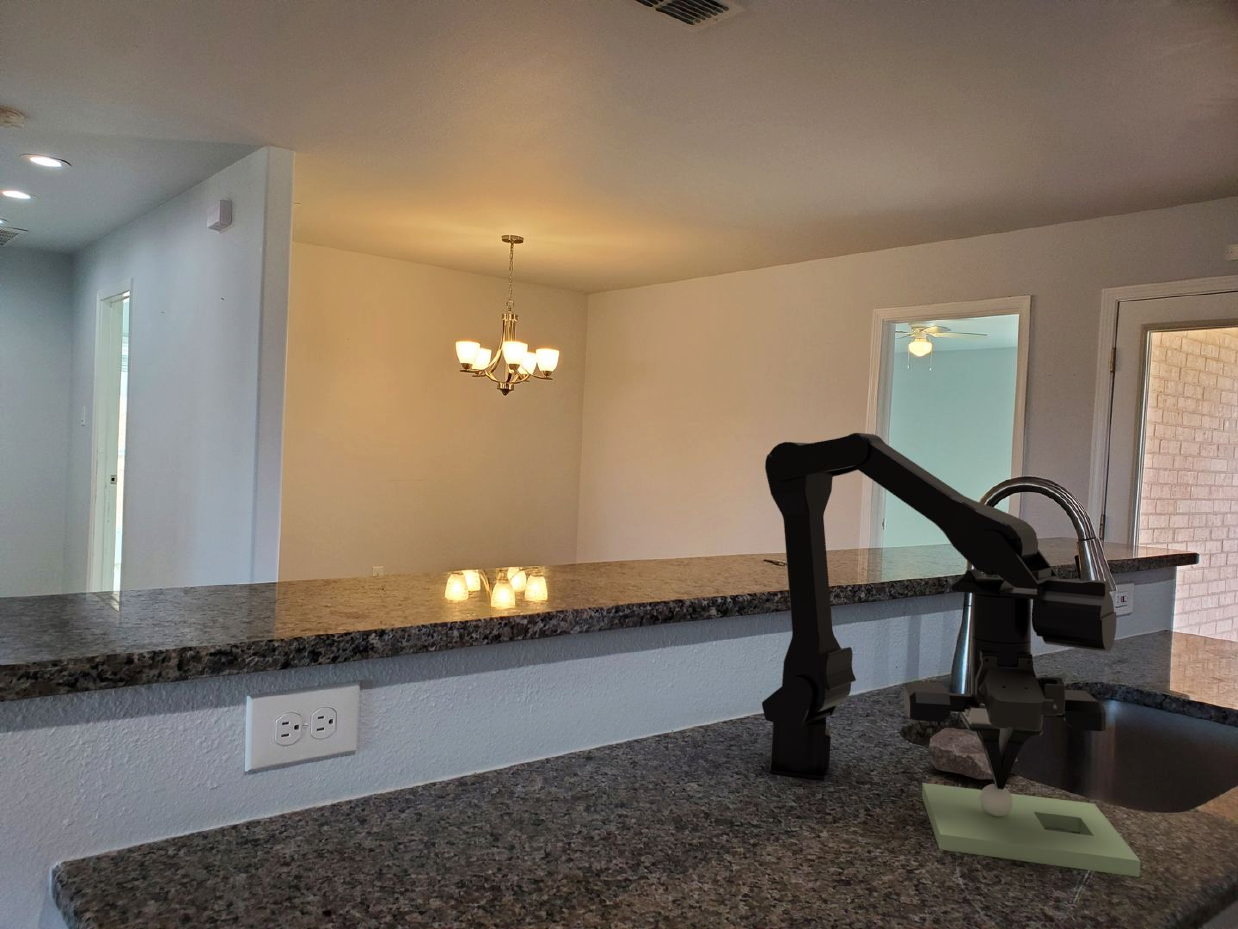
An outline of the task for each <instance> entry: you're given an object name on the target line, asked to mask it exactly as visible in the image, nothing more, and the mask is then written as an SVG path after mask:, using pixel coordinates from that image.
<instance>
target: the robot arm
mask: <svg viewBox="0 0 1238 929" xmlns="http://www.w3.org/2000/svg"><path fill="white" fill-rule="evenodd" d="M764 461H765V464H764V469H765V475H766V479H767V483H768V484H767V485H768V488H769V492H770V495H771V498H772V500H773V501H774V503H775V504H776V506H777V508H778V510H779V512H780V513H781V516H782V520H783V530H784V531H783V532H784V543H785V554H786V556H785V558H786V568H787V581H788V582H787V583H788V594H789V606H790V607H789V608H790V609H789V610H790V621H791V639H790V642H789V645H788V648H787V651H786V653H785V657H784V660H783V663H782V664H783V667H782V679H781V680H782V681H781V686H780V687H779V688H778V689H777V690H776V691H774V692H773V693H772V694H770V695H769V696H768V697H767V698H765V699H764V700H763V701H762V702H761V706H762V710H763V715H764V719H765V721H767V722H771V723H772V733H771V738H772V739H771V749H770V750H771V752H770V760H769V766H768V767H769V768H768V773H770V774H775V775H780V776H781V775H782V776H790V777H798V778H799V777H800V778H806V779H813V780H822V781H823V780H826V771H829V769H830V762H831V760H830V757H831V741H832V735H831V730H830V729H827V717H831V716H834V714H835V712H836V710H837V707H838V705H840V704H841V703H843V702H844V701H845V700H846V698H848V696H849V695H850V694H851V690H852V683H854V682H856V681H857V678H856V676H855V673H854V670H853V656H854V654H853V649H852V647H851V646H848V647H842V648H841V646H840V643H839V641H838V639H837V638H836V636H835V633H834V630H833V622H832V621H833V620H832V609H831V608H832V606H831V594H830V582H829V572H828V571H829V570H828V557H827V545H826V534H825V533H826V532H825V520H824V519H825V518H824V516H825V511H826V508H827V505H828V504H829V503H828V502H829V500H830V497H831V494H832V490H833V489H832V488H833V479H834V477H838V476H842V475H846V474H849V473H852V472H856V471H859V472H861V473H862V474H863V475H865V476H867V477H868V478H869V479H871V480H872V481H873V482H875V483H876V484H878V485H879V486H880V487H882V488H883V489H885V490H886V491H887V492H889V493H890V494H892V495H893V496H895V497H896V498H898V499H899V500H900V501H901V502H903V503H905V504H906V505H908V506H909V507H911V508H912V509H913V510H915V511H916V512H918V513H919V514H920V515H922V516H923V517H925V519H928V520H929V521H930V522H932V523H933V524H934V525H936V526H937V527H938V528H939V530H941V531H942V532H943V534H944V536H945V537H946V538H947V539H948V541H949V542H950V544H951V546H952V547H953V548H954V549H955V550H956V551H957V552H958V553H959V554H960V555H961V556H962V557H963V558H964V559H965V560H966V561H967V562H968V563H969V564H970V565H971V566H972V567H973V568H972V569H967V570H966V571H965V573H964V574H963V576H962V577H960V579H958V580H957V581H955V583H953V584H952V585H950V590H951V591H952V592H956V593H963V594H964V593H965V594H971V642H970V644H971V645H970V651H971V656H970V659H971V661H970V663H971V664H970V666H971V667H970V668H971V670H970V675H971V676H970V678H971V679H970V693H954V692H949V691H948V689H946V687H945V685H944V684H943V683H941V682H940V683H939V682H938V683H937V682H923V681H922V682H920V681H919V682H918V681H910V682H908V683H907V684H906V685H905V686H904V688H903V689H904V691H903V703H904V704H903V707H904V709H905V711H906V713H907V715H908V717H909V719H910V720H913V721H919V722H920V721H921V722H931V723H932V722H934V723H943V722H944V721H946V720H947V719H948V718H949V717H950V716H951V713H952V712H953V713H956V712H957V713H959V714H960V717H959V718H960V719H961V720H962V722H963V723H964V725H965V727H966V728H967V730H970V731H974V732H976V733H977V735H978V737H979V739H980V741H981V744H982V746H983V749H984V752H985V755H986V758H987V761H988V764H989V767H990V770H991V773H992V776H993V779H992V780H993V782H994V784H996V786H997V788H998V789H1004V787H1005V788H1006V785H1007V782H1008V780H1009V778H1010V775H1011V772H1012V770H1013V767H1014V765H1015V763H1016V762H1015V760H1016V758H1017V757H1018V755H1019V753H1020V751H1021V750H1022V748H1023V746H1024V745H1025V743H1026V742H1027V741H1028V740H1029V739H1030V738H1031V737H1033V736H1042V734H1043V731H1044V730H1043V729H1042V727H1043V723H1044V717H1045V718H1061V719H1063V721H1064V722H1065V723H1066V724H1067V725H1068V726H1069V727H1070V728H1071V729H1072V730H1073V731H1089V732H1090V731H1091V732H1105V731H1106V727H1107V725H1106V724H1107V723H1106V718H1107V713H1106V710H1105V705H1103V704H1102V703H1100V701H1099V700H1097V699H1096V698H1095V697H1093V696H1092V695H1091V694H1090V693H1088V692H1087V691H1086V690H1080V689H1079V690H1074V689H1066V685H1065V683H1064V681H1063V678H1062V677H1054V676H1041V677H1037V675H1036V673H1035V670H1034V660H1033V658H1034V657H1033V654H1032V629H1033V631H1034V633H1035V634H1036V637H1040V638H1042V639H1043V642H1044V643H1045V645H1051V646H1056V647H1057V646H1058V647H1064V648H1065V647H1067V648H1074V649H1083V650H1090V651H1097V652H1106V653H1109V652H1111V650H1112V648H1113V646H1114V644H1115V638H1116V633H1117V612H1116V611H1115V609H1114V608H1115V606H1114V600H1113V597H1112V594H1111V589H1110V588H1111V586H1110V585H1111V583H1110V582H1109V581H1108V580H1102V579H1101V580H1099V579H1094V580H1093V579H1092V580H1076V579H1075V580H1074V579H1066V578H1065V579H1064V578H1063V579H1062V578H1060V576H1059V575H1058V573H1057V572H1056V570H1055V569H1054V568H1053V567H1052V566H1051V564H1050V563H1049V561H1048V560H1047V559H1046V558H1045V555H1044V554H1043V553H1042V552H1041V550H1040V549H1039V542H1038V536H1037V532H1036V531H1035V529H1034V528H1033V527H1032V526H1031V525H1030V523H1028V522H1027V521H1025V520H1023V519H1022V518H1019V517H1017V516H1014V515H1011V514H1010V513H1008V512H1006V511H1003V510H1002V509H999V508H996V507H993V506H990V505H988V504H985V503H981V502H979V501H977V500H974V499H971V498H970V497H967V496H965V495H964V494H962V493H960V491H958V490H956V489H954V488H953V487H951V486H950V485H948V484H947V483H945V482H944V481H942V480H941V479H939V478H938V477H936V476H935V475H934V474H932V473H931V472H929V471H927V470H926V469H925V468H923V467H921V466H920V465H918V464H917V463H916V462H914V461H912V460H911V459H909V458H908V457H907V456H905V455H904V454H902V453H901V452H899V451H898V450H896V449H895V448H893V447H891V445H888V444H887V443H886V442H885V441H884V440H883V438H881V437H880V436H879V435H876V434H874V433H865V432H854V433H850V434H848V435H846V436H845V435H844V436H841V437H838V438H832V439H828V440H821V441H817V442H811V443H809V442H796V441H795V442H793V441H784V442H781V443H778V444H776V445H775V446H774V447H772V449H771V450H770V452H769V453H768V454H767V455H766V458H765V460H764ZM980 572H981V573H983V574H985V575H990V576H996V575H997V576H998V577H1000V578H997V577H985V576H984V575H982V574H981V573H980ZM1017 759H1018V758H1017Z"/></svg>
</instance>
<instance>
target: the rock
mask: <svg viewBox="0 0 1238 929" xmlns="http://www.w3.org/2000/svg"><path fill="white" fill-rule="evenodd" d="M928 754H929V756H930V759H931V762H932V766H934V768H935V769H936V770H937V771H942V772H947V773H955V774H961V775H963V776H965V777H970V778H974V779H976V780H994V779H993V776H992V773H991V770H990V767H989V764H988V761H987V758H986V755H985V752H984V749H983V746H982V744H981V741H980V739H979V737H978V735H977V733H976V732H974V731H970V730H969V729H959V728H955V727H951V728H950V727H946V728H942V729H941V731H938V732H937V733H936V734H934V735H932V736H931V737H930V740H929V746H928ZM1018 761H1019V760H1018V758H1016V760H1015V762H1014V763H1016V762H1018Z"/></svg>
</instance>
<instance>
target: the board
mask: <svg viewBox="0 0 1238 929" xmlns="http://www.w3.org/2000/svg"><path fill="white" fill-rule="evenodd" d="M921 785H922V786H921V787H922V788H921V798H922V800H923V805H924V807H925V809H926V812H927V816H928V819H929V822H930V825H931V828H932V831H933V833H934V837H935V840H936V843H937V846H938V849H939V850H943V851H950V852H958V853H965V854H970V855H980V856H985V857H994V858H1000V859H1005V860H1015V861H1022V862H1030V863H1036V864H1043V865H1048V866H1049V865H1050V866H1057V867H1064V868H1072V869H1079V870H1086V871H1091V872H1092V871H1094V872H1100V873H1108V874H1114V875H1115V874H1116V875H1122V876H1129V877H1137V878H1140V873H1141V859H1140V858H1139V857H1138V856H1137V854H1136V853H1135V852H1134V850H1132V848H1131V847H1130V846H1129V845H1128V843H1127V842H1126V841H1125V839H1123V837H1122V836H1121V835H1120V834H1119V832H1118V831H1117V830H1116V828H1115V827H1114V826H1113V825H1112V823H1111V822H1110V821H1109V819H1107V817H1106V816H1105V815H1104V814H1103V813H1102V812H1101V810H1100V809H1099V808H1098V806H1097V805H1096V804H1095V803H1090V802H1082V801H1074V800H1065V799H1057V798H1051V797H1044V796H1043V797H1041V796H1034V795H1026V794H1018V793H1010V794H1011V796H1012V800H1013V805H1012V809H1011V810H1010V812H1009V813H1008V814H1006V815H1004V816H1001V817H996V816H992V815H990V814H988V813H987V812H986V811H985V810H984V809H983V808H982V806H981V803H980V793H981V791H982V789H977V788H969V787H968V788H967V787H959V786H950V785H943V784H936V783H926V782H922V784H921Z"/></svg>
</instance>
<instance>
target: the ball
mask: <svg viewBox="0 0 1238 929" xmlns="http://www.w3.org/2000/svg"><path fill="white" fill-rule="evenodd" d="M981 790H982V791H981V793H980V803H981V806H982V808H983V809H984V810H985V811H986V812H987V813H988V814H990V815H992V816H996V817H1001V816H1004V815H1006V814H1008V813H1009V812H1010V810H1011V809H1012V805H1013V800H1012V796H1011V794H1012V793H1010V791H1009V790H1008V789H1007V788H1006V786H1005V787H1004V789H998V788H997V786H996V784H995V783H991V784H987V785H986V786H985V787H983V788H982V789H981Z"/></svg>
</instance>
